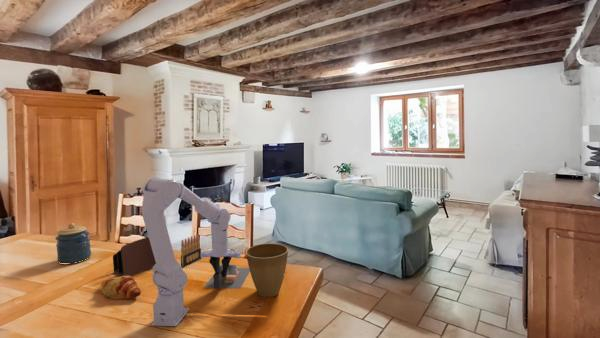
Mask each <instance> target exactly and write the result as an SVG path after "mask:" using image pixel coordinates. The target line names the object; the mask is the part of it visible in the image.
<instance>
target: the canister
mask: <svg viewBox="0 0 600 338" xmlns="http://www.w3.org/2000/svg"><path fill="white" fill-rule="evenodd" d="M56 234H57V236H55V241H56V245H55V247H56V251H57V252H56V253H57V258H56V259H57V262H58V263H59V262H60V263H75V262H79V261H82V260H85V259H87V258H89V257H90V256H91V257H92V250H91V242H90V241H91V239H90V238H89V237H90V236H89V235H90V231H88V230H87V227H86V226H83V225H76V224H75V223H74V222H70V223H69V224H68V225H67V226H66V227H62V228H60V230H59V231H57V232H56ZM91 257H90V258H91ZM90 258H89V259H90ZM87 260H88V259H87ZM85 261H86V260H85ZM75 264H76V263H75Z"/></svg>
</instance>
